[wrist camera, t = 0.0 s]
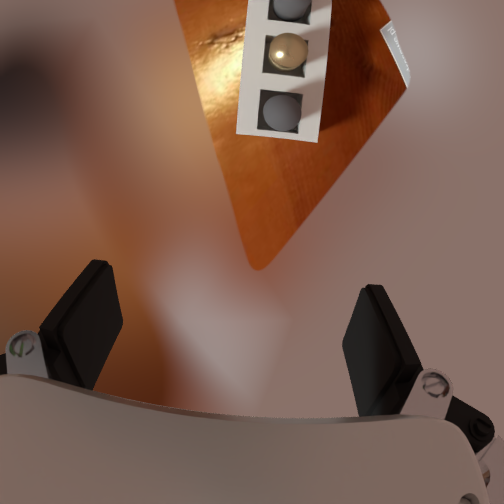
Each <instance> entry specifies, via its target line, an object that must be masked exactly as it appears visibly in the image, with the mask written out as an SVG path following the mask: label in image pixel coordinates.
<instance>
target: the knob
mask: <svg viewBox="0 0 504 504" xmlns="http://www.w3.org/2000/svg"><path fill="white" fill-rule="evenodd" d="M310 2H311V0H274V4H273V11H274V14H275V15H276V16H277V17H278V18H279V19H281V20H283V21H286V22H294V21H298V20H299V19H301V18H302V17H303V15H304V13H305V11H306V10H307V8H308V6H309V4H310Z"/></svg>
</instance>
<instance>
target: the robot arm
mask: <svg viewBox="0 0 504 504" xmlns="http://www.w3.org/2000/svg"><path fill="white" fill-rule="evenodd" d="M122 325H123V318H122V314H121V309H120V304H119V301H118V295H117V290H116V285H115V280H114V274H113V268H112V266H111V265H109V264H108V262H107V261H103V260H95V259H94V260H92V261H91V262H90V263H89V264H88V265H87V267H86V268H85V269H84V270H83V272H82V273H81V274H80V275H79V276H78V277H77V279H76V280H75V281H74V282H73V284H72V285H71V286H70V287H69V289H68V290H67V291H66V292H65V294H64V295H63V296H62V298H61V299H60V300H59V301H58V303H57V304H56V305H55V307H54V308H53V309H52V311H51V312H50V313H49V315H48V316H47V317H46V319H45V320H44V321H43V323H42V324H41V326H40V327H39V328H40V331H39V333H38V334H37V333H35V332H33V331H28V330H26V331H21V332H19V333H16V334H15V335H13V336H12V337H11V338H10V339H9V341H8V343H7V345H6V353H5V354H2V355H0V504H504V441H503V440H502V438H501V437H500V436H497V437H496V438H495V437H494V433H495V430H494V425H493V423H492V421H491V420H490V418H489V417H488V416H486V415H485V414H483V413H481V412H480V411H478V410H476V409H475V408H473V407H471V406H469V405H468V404H466V403H464V402H463V401H461V400H459V399H458V398H456V397H454V396H453V395H452V394H453V385H452V382H451V380H450V379H449V378H448V377H447V375H446V374H444V373H442V372H441V371H439V370H436V369H425V370H423V367H422V365H421V362H420V360H419V357H418V355H417V353H416V351H415V349H414V347H413V345H412V343H411V340H410V338H409V336H408V334H407V332H406V330H405V328H404V326H403V324H402V322H401V320H400V318H399V316H398V314H397V312H396V310H395V308H394V306H393V304H392V303H391V301H390V299H389V297H388V295H387V293H386V291H385V289H384V287H383V286H382V285H372V284H368V285H367V286H366V287H365V288H362V289H361V291H360V294H359V297H358V300H357V302H356V305H355V308H354V311H353V314H352V317H351V320H350V323H349V325H348V328H347V330H346V333H345V336H344V338H343V343H342V347H343V351H344V355H345V359H346V363H347V367H348V371H349V375H350V380H351V384H352V388H353V392H354V396H355V401H356V405H357V410H358V414H359V417H343V418H342V417H341V418H268V417H250V416H236V415H225V414H214V413H207V412H198V411H191V410H184V409H177V408H171V407H165V406H159V405H154V404H149V403H143V402H139V401H134V400H129V399H125V398H120V397H116V396H111V395H108V394H104V393H100V392H96V391H92V390H93V388H94V385H95V383H96V381H97V379H98V377H99V374H100V372H101V370H102V368H103V366H104V364H105V361H106V359H107V357H108V355H109V353H110V351H111V349H112V346H113V345H114V342H115V340H116V338H117V336H118V334H119V332H120V330H121V328H122Z"/></svg>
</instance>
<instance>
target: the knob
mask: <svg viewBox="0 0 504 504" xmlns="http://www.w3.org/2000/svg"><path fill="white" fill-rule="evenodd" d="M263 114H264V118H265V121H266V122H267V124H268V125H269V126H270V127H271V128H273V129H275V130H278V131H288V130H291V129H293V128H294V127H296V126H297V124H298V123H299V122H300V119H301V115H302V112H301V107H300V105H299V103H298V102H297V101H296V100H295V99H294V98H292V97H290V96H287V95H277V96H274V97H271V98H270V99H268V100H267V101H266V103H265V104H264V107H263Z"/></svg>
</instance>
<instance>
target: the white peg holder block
mask: <svg viewBox="0 0 504 504" xmlns="http://www.w3.org/2000/svg"><path fill="white" fill-rule="evenodd" d="M273 4H274V0H249V1H248V10H247V19H246V29H245V39H244V49H243V59H242V70H241V81H240V93H239V104H238V116H237V129H236V134H244V135H256V136H267V137H276V138H285V139H294V140H302V141H309V142H316V143H317V140H318V133H319V125H320V117H321V109H322V101H323V93H324V84H325V74H326V65H327V55H328V44H329V33H330V20H331V7H332V0H311V2H310V4H309V6H308V8H307V10H306V11H305V13H304V15H303V17H302V18H301V19H299V20H298V21H294V22H286V21H283V20H281V19H279V18H278V17H277V16H276V15H275V14H274V11H273ZM282 33H294V34H297V35H299V36H300V37H302V38H303V39H304V40H305V42H306V43H307V46H308V55H307V58H306V59H305V61H304V62H303V63H301V64H300V65H299V66H298V67H297V68H296V69H294V70H293V71H290V72H280V71H277V70H275V69H274V68H273V67H272V66H271V65H270V63H269V60H268V55H269V49H270V44H271V42H272V40H273V39H274V38H275V37H276V36H278V35H279V34H282ZM277 95H287V96H290V97H292V98H294V99H295V100H296V101H297V102H298V103H299V105H300V107H301V112H302V115H301V119H300V122H299V123H298V124H297V126H296V127H294V128H293V129H291V130H288V131H278V130H275V129H273V128H271V127H270V126H269V125H268V124H267V122H266V121H265V118H264V114H263V107H264V104H265V103H266V101H267V100H268V99H270V98H271V97H274V96H277Z"/></svg>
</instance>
